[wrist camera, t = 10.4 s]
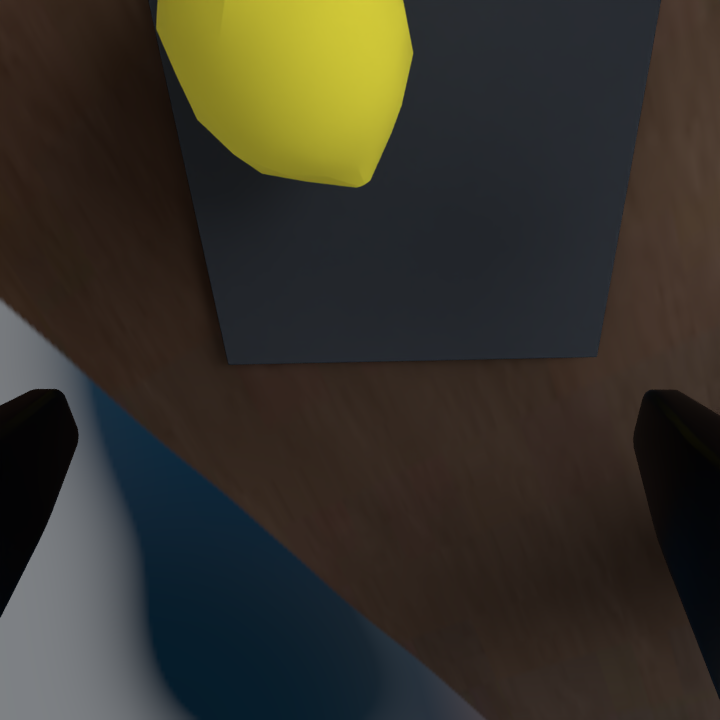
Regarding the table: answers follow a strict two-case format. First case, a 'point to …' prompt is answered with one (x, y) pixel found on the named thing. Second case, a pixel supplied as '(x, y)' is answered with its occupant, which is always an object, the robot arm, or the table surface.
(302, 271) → the desk mat
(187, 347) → the table surface
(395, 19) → the lemon
